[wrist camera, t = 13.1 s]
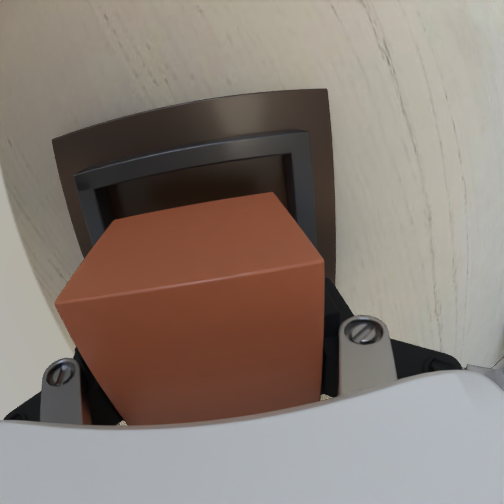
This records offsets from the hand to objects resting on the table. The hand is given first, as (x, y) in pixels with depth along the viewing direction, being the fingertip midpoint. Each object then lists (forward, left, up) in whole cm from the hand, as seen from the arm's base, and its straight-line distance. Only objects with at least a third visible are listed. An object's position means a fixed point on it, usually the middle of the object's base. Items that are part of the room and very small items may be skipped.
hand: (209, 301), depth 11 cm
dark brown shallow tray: (0, 0, -4) cm, 4 cm away
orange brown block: (0, 0, 0) cm, 0 cm away
